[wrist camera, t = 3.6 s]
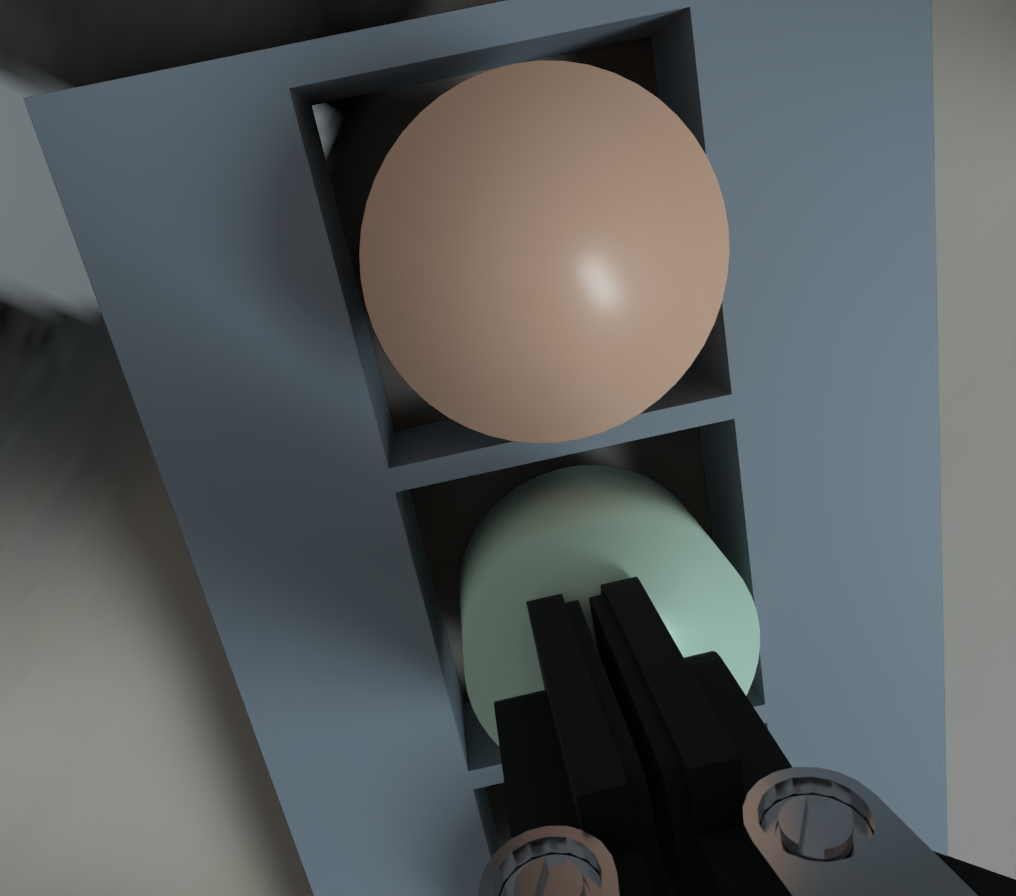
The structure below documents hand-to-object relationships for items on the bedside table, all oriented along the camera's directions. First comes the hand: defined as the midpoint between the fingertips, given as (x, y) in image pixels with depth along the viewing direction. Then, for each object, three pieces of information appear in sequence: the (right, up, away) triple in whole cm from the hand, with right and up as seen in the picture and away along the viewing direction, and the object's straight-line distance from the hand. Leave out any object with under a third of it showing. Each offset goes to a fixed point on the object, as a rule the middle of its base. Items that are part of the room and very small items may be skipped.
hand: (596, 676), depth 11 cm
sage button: (0, +1, +2) cm, 2 cm away
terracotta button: (-1, +6, 0) cm, 6 cm away
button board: (0, +1, +3) cm, 4 cm away
